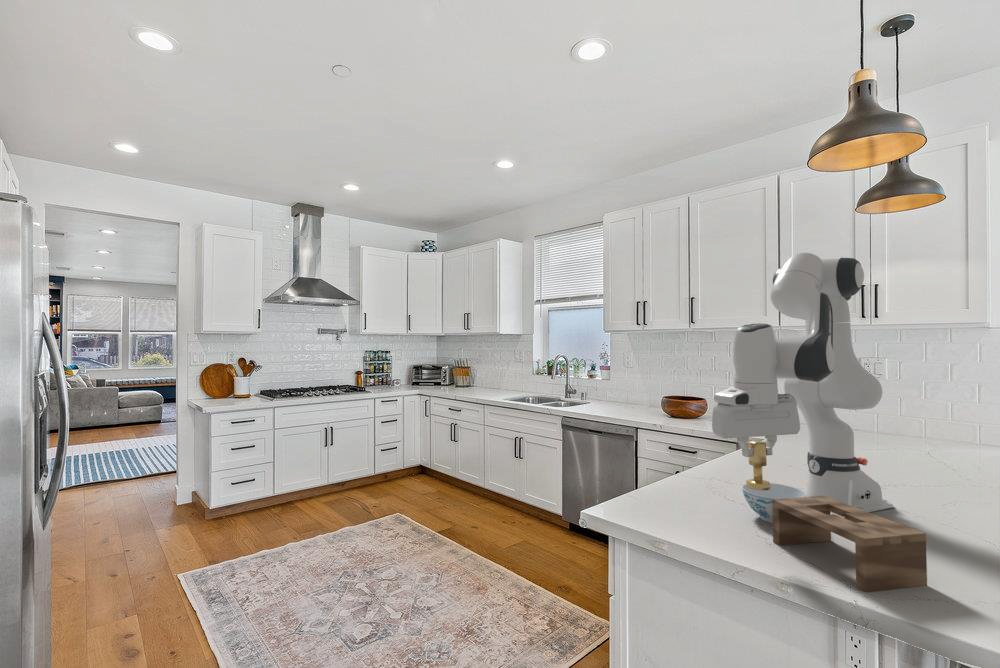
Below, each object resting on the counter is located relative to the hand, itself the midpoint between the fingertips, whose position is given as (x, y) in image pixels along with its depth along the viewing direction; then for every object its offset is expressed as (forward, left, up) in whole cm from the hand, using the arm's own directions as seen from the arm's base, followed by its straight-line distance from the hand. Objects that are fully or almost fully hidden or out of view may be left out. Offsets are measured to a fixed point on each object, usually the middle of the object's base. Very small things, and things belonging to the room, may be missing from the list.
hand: (757, 455), depth 111 cm
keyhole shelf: (-14, +8, -22) cm, 27 cm away
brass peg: (0, 0, -7) cm, 7 cm away
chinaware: (-18, -17, -22) cm, 33 cm away
